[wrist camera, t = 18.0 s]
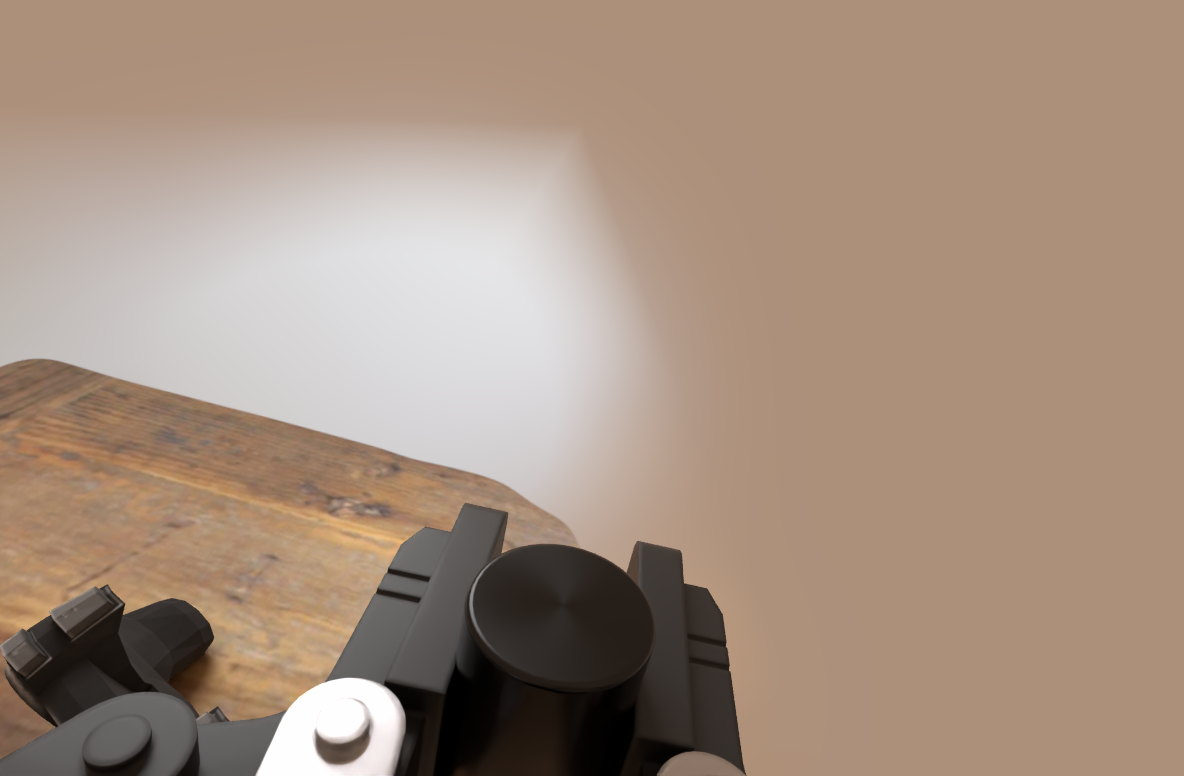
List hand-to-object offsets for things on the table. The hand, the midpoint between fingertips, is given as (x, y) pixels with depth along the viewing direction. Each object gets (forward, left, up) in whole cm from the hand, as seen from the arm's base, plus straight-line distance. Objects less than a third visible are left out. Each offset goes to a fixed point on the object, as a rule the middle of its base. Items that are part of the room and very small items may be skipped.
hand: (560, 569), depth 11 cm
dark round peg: (0, +3, -17) cm, 18 cm away
